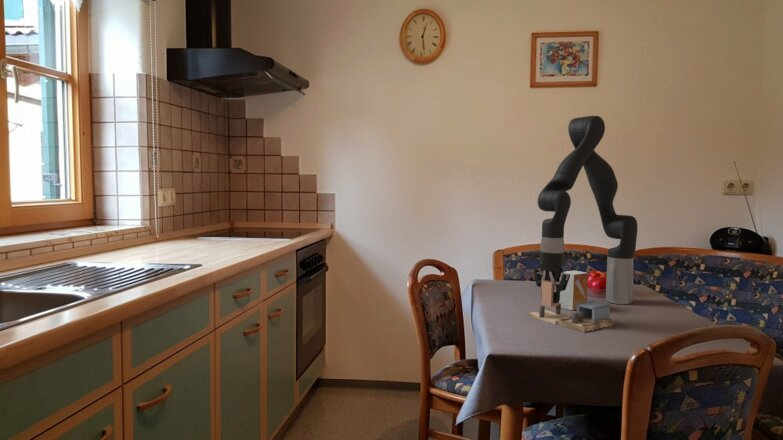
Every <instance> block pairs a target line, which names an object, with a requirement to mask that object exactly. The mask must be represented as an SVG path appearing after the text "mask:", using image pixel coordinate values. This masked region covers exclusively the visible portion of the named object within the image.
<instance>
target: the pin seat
mask: <svg viewBox="0 0 783 440" xmlns="http://www.w3.org/2000/svg"><path fill="white" fill-rule="evenodd" d="M545 307H546V306H545V305H539V310H537V311H532V312H527V313H526V316H527V317H529V318H533V319H536V320H540V321H543V322H545V323H546V322H547V323H551V324H553V325H558V320H561V318H566V317H571V316H569V315H567V314H562V313H561V312H562V311H561V310H562V309H561V304H560V303H559V306H555V311H550V310H547V309H545Z"/></svg>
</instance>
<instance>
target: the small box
mask: <svg viewBox="0 0 783 440" xmlns="http://www.w3.org/2000/svg"><path fill="white" fill-rule="evenodd" d="M563 272H564V273H565V274H570V278H569V281H568V284H567V287H566V290H564V291H561V292H560V301H559V303H560V304H561V308H562V309H565V310H570V311H577V303H582V302H587V301H588V290H589V288H588V286H589V273H588V272H586V271H585V272H584V271H581V270H580V271H579V270H568V271H563ZM560 280H561V277H560Z"/></svg>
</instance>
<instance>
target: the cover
mask: <svg viewBox="0 0 783 440" xmlns="http://www.w3.org/2000/svg"><path fill="white" fill-rule="evenodd" d="M577 312H584V318H585V317H589V316H592V322H596V321H600V320H605V319H609V318H610V316H611V303H610V304H609V303H605V302H601V301H596V300H587V302H582V303H577V309H576V313H577ZM610 319H611V318H610Z"/></svg>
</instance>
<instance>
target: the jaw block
mask: <svg viewBox="0 0 783 440" xmlns="http://www.w3.org/2000/svg"><path fill="white" fill-rule="evenodd" d="M555 282H557V281H555ZM556 286H557V285H556ZM553 292H554V291H553V285H552V283H551V281H549V280H546V281H542V298H541V300H540V302H541V305H540V306H545V307H551V308H553V307H556V306H559V302H558V303H553Z"/></svg>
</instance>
